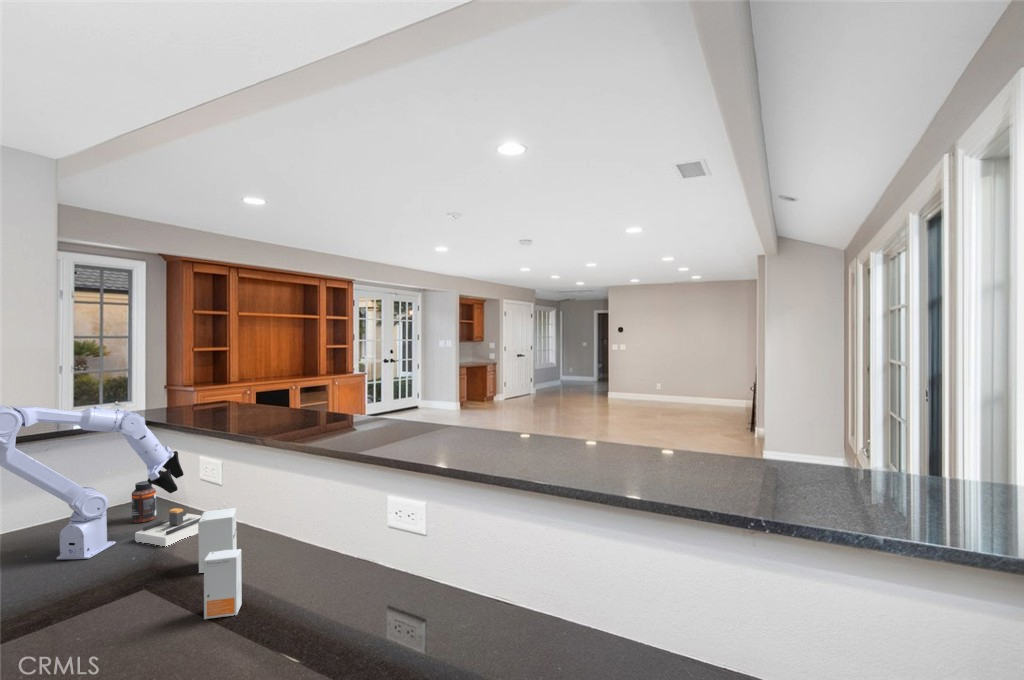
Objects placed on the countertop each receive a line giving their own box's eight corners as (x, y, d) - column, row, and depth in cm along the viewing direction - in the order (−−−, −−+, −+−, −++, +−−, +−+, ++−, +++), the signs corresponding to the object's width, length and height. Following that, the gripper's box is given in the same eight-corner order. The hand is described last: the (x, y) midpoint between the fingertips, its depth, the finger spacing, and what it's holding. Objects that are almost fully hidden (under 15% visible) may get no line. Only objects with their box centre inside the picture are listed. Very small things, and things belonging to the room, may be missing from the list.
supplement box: (233, 569, 122) (232, 517, 122) (197, 575, 119) (196, 521, 119) (237, 556, 129) (237, 506, 129) (203, 561, 126) (203, 510, 126)
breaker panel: (165, 547, 134) (165, 534, 134) (135, 541, 138) (135, 529, 138) (214, 526, 149) (214, 514, 149) (186, 521, 152) (185, 510, 152)
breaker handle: (177, 525, 142) (177, 511, 142) (169, 524, 143) (168, 510, 143) (183, 523, 144) (183, 509, 144) (175, 522, 145) (175, 507, 144)
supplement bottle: (161, 516, 156) (160, 479, 156) (145, 524, 150) (144, 485, 150) (143, 515, 157) (142, 479, 157) (126, 523, 151) (126, 485, 151)
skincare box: (203, 620, 101) (202, 560, 100) (210, 609, 105) (209, 551, 105) (237, 616, 102) (236, 556, 102) (242, 604, 107) (241, 547, 106)
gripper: (156, 454, 137) (185, 491, 143) (169, 429, 150) (196, 463, 156) (129, 467, 136) (159, 503, 142) (144, 440, 149) (172, 474, 154)
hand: (177, 483), depth 149 cm, fingers open, 7 cm apart
